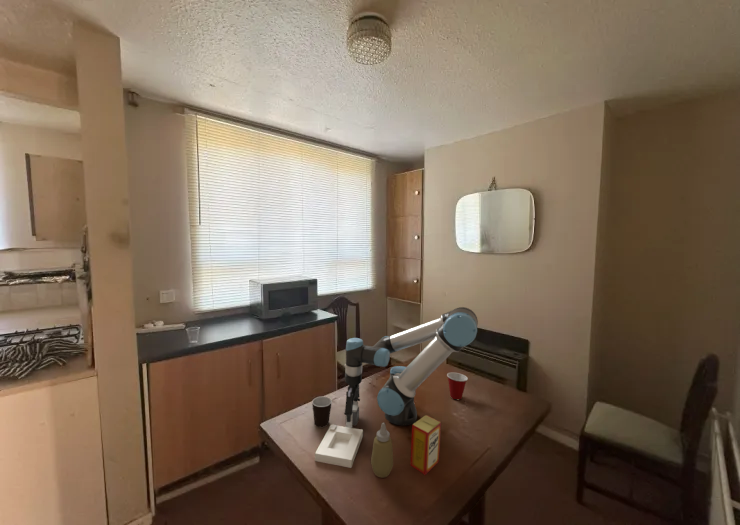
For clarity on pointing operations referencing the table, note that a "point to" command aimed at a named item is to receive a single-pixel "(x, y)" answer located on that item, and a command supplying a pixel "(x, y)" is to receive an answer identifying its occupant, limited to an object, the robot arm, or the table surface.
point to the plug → (355, 414)
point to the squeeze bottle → (382, 453)
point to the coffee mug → (321, 411)
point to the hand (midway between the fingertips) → (351, 421)
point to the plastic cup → (456, 384)
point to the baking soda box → (425, 444)
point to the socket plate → (339, 446)
